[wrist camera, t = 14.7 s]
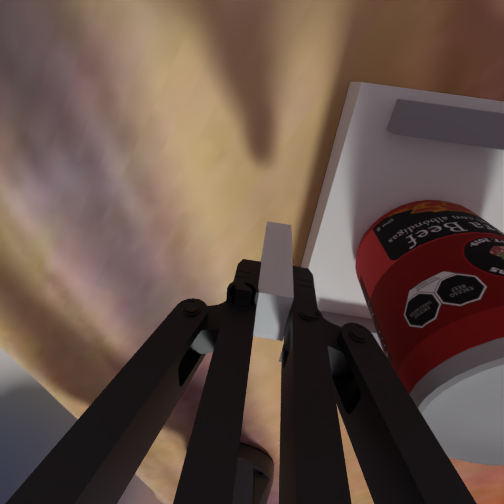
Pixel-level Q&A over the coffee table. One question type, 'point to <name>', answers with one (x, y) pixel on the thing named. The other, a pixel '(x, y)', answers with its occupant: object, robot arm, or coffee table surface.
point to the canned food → (442, 319)
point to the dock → (398, 177)
